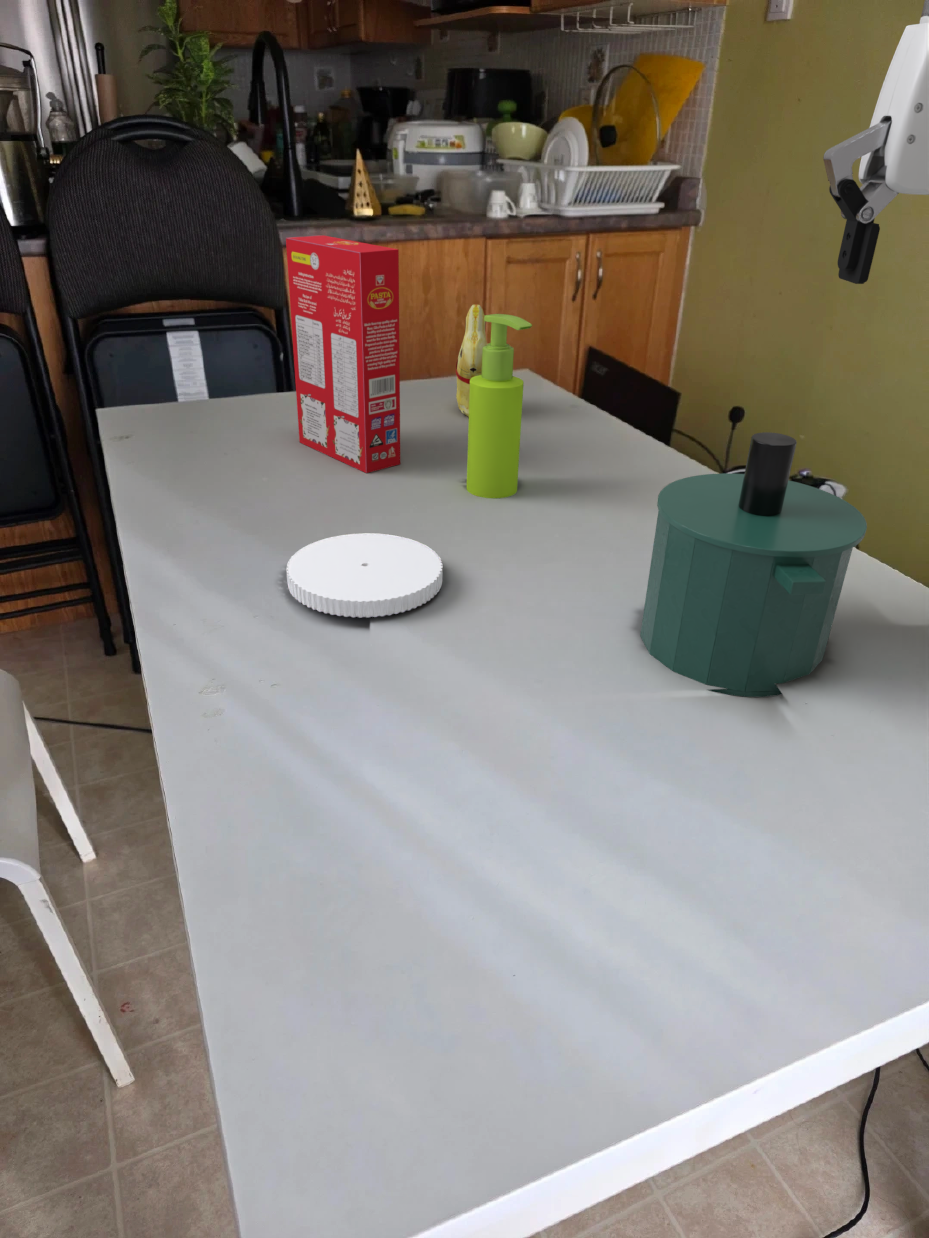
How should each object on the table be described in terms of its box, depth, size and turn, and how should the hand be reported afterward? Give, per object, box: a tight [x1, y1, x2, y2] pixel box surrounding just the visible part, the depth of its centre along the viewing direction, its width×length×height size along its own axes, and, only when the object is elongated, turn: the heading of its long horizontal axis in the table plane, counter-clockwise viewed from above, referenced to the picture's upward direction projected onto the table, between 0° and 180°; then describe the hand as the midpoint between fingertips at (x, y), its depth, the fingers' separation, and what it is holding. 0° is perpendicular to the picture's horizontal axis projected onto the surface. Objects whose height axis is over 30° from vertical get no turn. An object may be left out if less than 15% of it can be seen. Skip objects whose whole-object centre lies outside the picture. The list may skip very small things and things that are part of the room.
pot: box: [639, 510, 854, 698], centre depth 71 cm, size 14×20×12 cm
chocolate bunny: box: [455, 303, 488, 418], centre depth 128 cm, size 7×11×15 cm, turn 178°
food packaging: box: [285, 234, 401, 474], centre depth 107 cm, size 15×5×25 cm, turn 42°
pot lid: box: [656, 431, 868, 557], centre depth 67 cm, size 15×15×7 cm
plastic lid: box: [285, 532, 444, 618], centre depth 80 cm, size 14×14×2 cm
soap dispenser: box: [466, 313, 533, 499], centre depth 97 cm, size 6×7×20 cm
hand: (913, 282), depth 65 cm, fingers open, 9 cm apart
